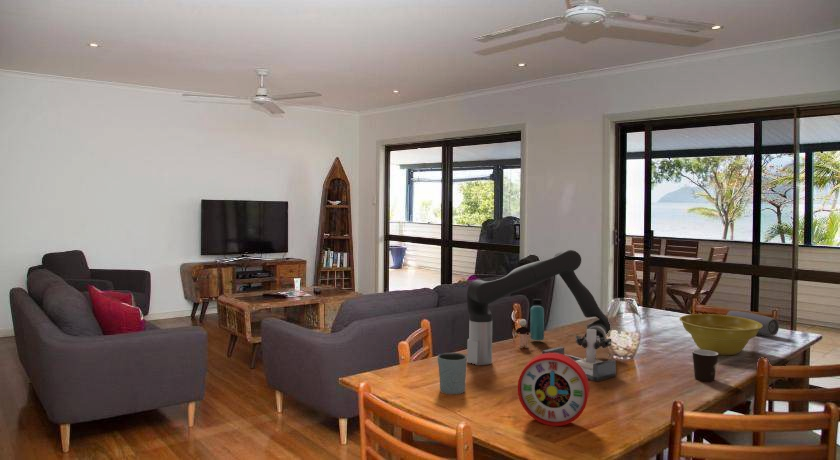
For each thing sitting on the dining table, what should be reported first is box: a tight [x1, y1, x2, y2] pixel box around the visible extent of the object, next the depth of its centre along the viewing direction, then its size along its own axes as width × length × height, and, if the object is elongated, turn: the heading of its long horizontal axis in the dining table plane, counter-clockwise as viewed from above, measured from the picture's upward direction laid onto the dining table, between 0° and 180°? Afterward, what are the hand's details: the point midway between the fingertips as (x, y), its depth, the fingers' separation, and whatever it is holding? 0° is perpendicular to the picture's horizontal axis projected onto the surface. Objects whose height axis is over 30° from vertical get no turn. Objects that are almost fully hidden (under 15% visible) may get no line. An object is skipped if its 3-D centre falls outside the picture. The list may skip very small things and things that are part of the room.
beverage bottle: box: [529, 298, 545, 341], centre depth 272 cm, size 6×7×20 cm
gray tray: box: [541, 346, 617, 382], centre depth 225 cm, size 11×26×6 cm, turn 37°
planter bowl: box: [679, 313, 763, 356], centre depth 255 cm, size 32×32×13 cm
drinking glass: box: [437, 352, 468, 395], centre depth 201 cm, size 10×10×12 cm
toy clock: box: [517, 353, 590, 427], centre depth 172 cm, size 20×6×20 cm, turn 69°
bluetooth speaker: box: [726, 310, 780, 336], centre depth 291 cm, size 23×9×10 cm, turn 25°
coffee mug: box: [691, 349, 719, 383], centre depth 215 cm, size 12×9×10 cm
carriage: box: [576, 328, 604, 370], centre depth 220 cm, size 8×8×15 cm
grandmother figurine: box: [514, 318, 531, 349], centre depth 261 cm, size 8×4×13 cm, turn 108°
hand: (590, 346), depth 218 cm, fingers closed on carriage, 3 cm apart
